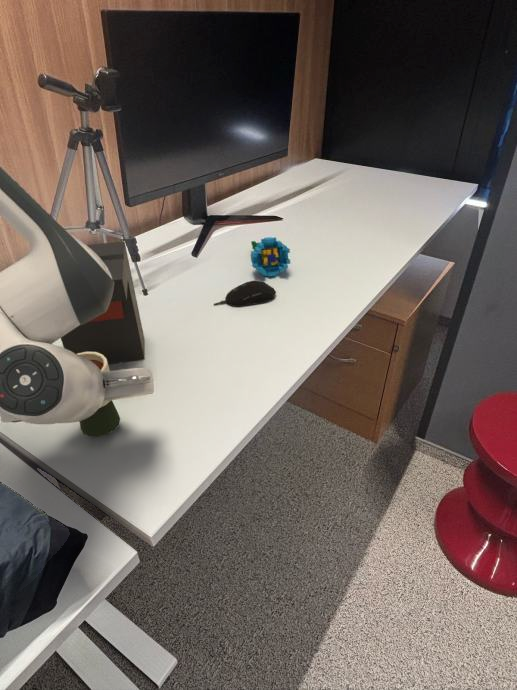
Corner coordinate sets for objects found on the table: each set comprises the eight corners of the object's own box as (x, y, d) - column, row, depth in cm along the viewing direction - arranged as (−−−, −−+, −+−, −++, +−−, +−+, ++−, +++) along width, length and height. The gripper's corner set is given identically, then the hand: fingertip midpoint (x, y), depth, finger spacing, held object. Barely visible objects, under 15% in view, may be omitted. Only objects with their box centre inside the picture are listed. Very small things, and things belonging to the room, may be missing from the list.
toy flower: (273, 260, 134) (291, 275, 118) (242, 264, 132) (256, 280, 116) (271, 227, 131) (290, 238, 114) (239, 231, 129) (253, 242, 113)
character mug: (85, 404, 83) (65, 345, 76) (127, 401, 84) (111, 341, 76) (73, 453, 75) (49, 392, 67) (119, 449, 75) (101, 388, 67)
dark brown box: (66, 393, 87) (29, 289, 74) (74, 347, 98) (43, 249, 85) (144, 382, 89) (122, 279, 76) (144, 338, 100) (124, 241, 87)
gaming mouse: (210, 298, 112) (209, 283, 110) (270, 287, 116) (270, 272, 113) (217, 312, 107) (215, 297, 105) (279, 300, 111) (279, 285, 108)
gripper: (147, 353, 64) (156, 364, 78) (-17, 375, 61) (23, 382, 75) (152, 400, 63) (161, 403, 77) (-13, 424, 60) (26, 422, 74)
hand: (91, 393), depth 76 cm, fingers closed on character mug, 7 cm apart
